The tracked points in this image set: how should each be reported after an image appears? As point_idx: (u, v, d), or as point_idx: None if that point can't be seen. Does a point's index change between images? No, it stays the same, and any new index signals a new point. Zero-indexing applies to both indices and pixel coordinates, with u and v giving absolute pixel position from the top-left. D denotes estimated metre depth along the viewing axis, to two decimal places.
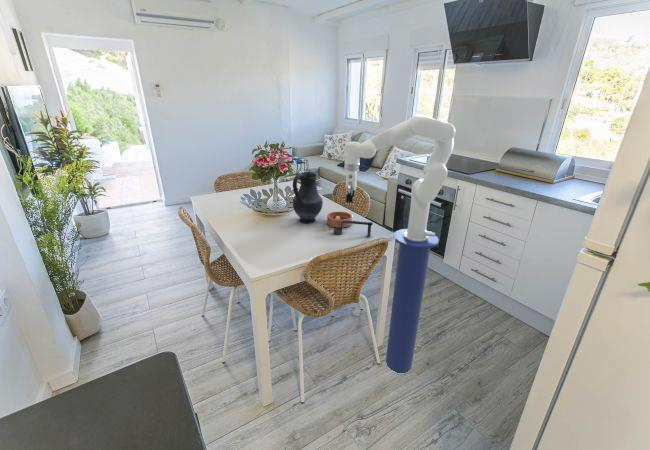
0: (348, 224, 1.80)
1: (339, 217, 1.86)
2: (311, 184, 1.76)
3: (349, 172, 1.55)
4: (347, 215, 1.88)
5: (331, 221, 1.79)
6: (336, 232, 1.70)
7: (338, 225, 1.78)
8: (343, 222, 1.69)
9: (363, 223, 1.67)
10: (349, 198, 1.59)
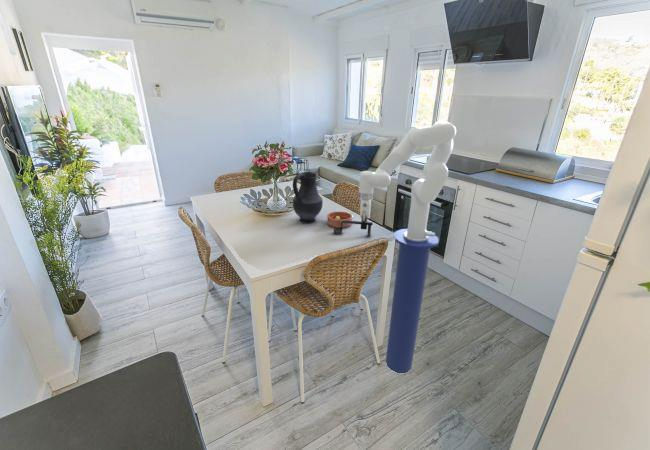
0: (348, 224, 1.80)
1: (339, 217, 1.86)
2: (311, 184, 1.76)
3: (364, 201, 1.58)
4: (347, 215, 1.88)
5: (331, 221, 1.79)
6: (336, 232, 1.70)
7: (338, 225, 1.78)
8: (343, 222, 1.69)
9: None
10: (364, 225, 1.66)
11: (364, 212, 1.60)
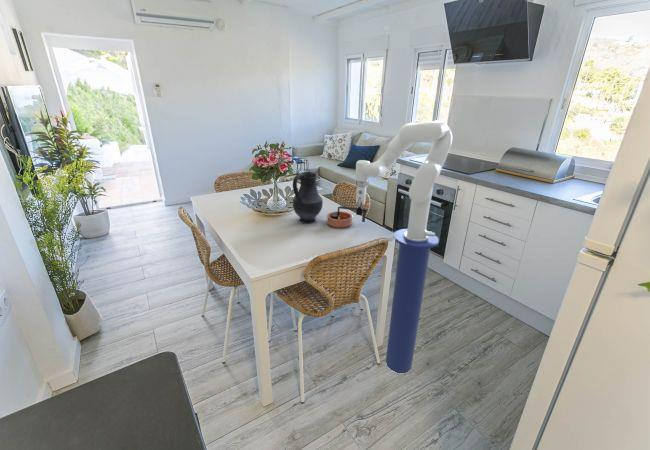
0: (348, 224, 1.80)
1: (339, 217, 1.86)
2: (311, 184, 1.76)
3: (359, 188, 1.70)
4: (347, 215, 1.88)
5: (331, 221, 1.79)
6: (333, 217, 1.82)
7: (338, 225, 1.78)
8: None
9: None
10: (359, 211, 1.78)
11: (359, 198, 1.73)
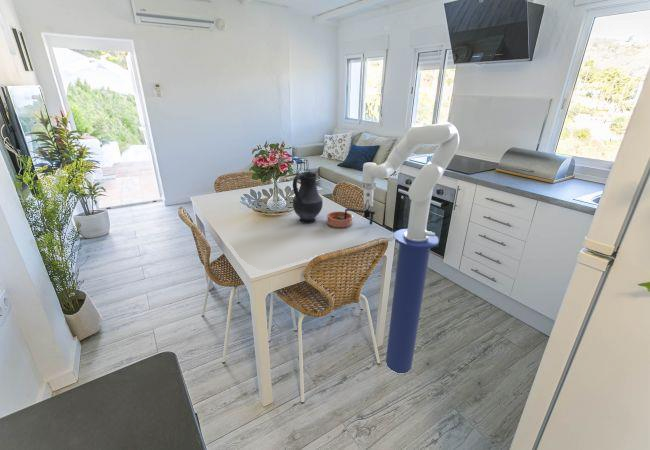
0: (348, 224, 1.80)
1: None
2: (311, 184, 1.76)
3: (367, 190, 1.70)
4: (347, 215, 1.88)
5: (331, 221, 1.79)
6: (340, 219, 1.81)
7: (338, 225, 1.78)
8: (347, 210, 1.80)
9: None
10: (367, 214, 1.77)
11: (367, 201, 1.72)
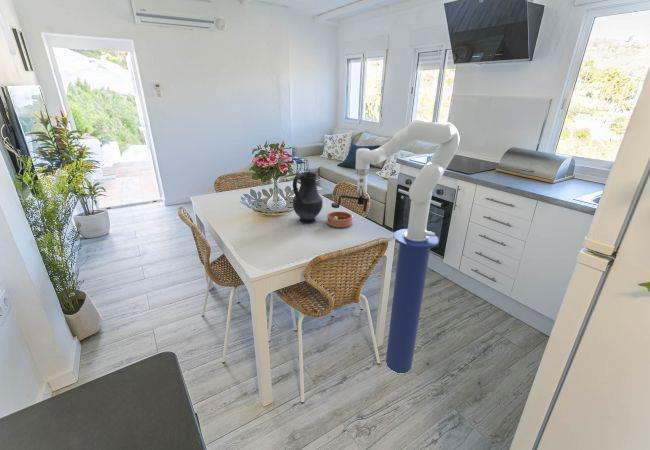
0: (348, 224, 1.80)
1: None
2: (311, 184, 1.76)
3: (360, 176, 1.68)
4: (347, 215, 1.88)
5: (331, 221, 1.79)
6: (334, 205, 1.79)
7: (338, 225, 1.78)
8: (341, 196, 1.78)
9: None
10: (361, 201, 1.76)
11: (361, 187, 1.70)
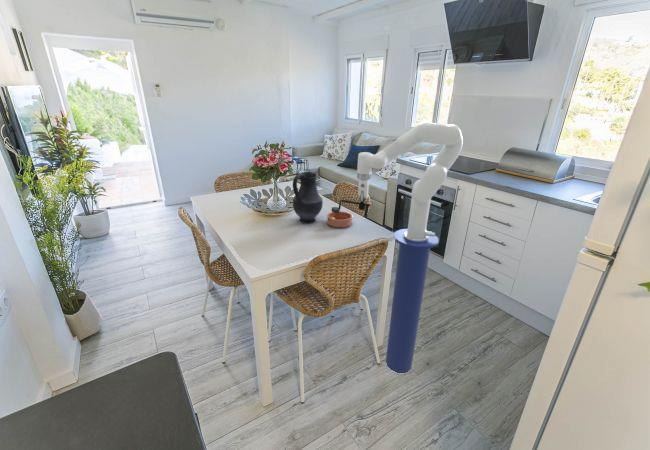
0: (348, 224, 1.80)
1: None
2: (311, 184, 1.76)
3: (361, 181, 1.63)
4: (347, 215, 1.88)
5: (331, 221, 1.79)
6: (334, 210, 1.74)
7: (338, 225, 1.78)
8: (342, 201, 1.73)
9: None
10: (362, 206, 1.71)
11: (362, 192, 1.65)
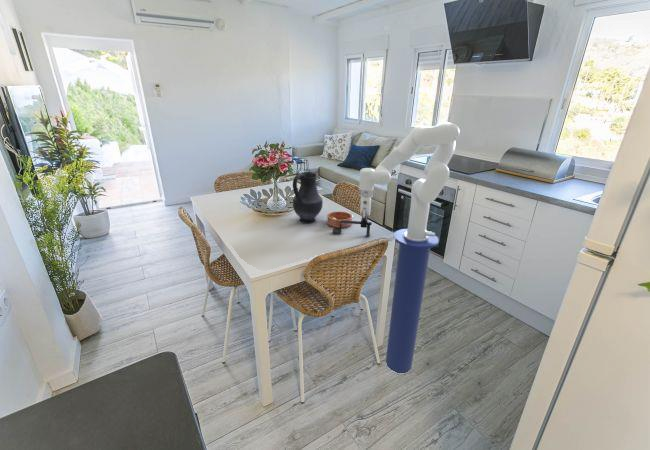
0: (348, 224, 1.80)
1: None
2: (311, 184, 1.76)
3: (364, 198, 1.58)
4: (347, 215, 1.88)
5: (331, 221, 1.79)
6: (335, 232, 1.70)
7: (338, 225, 1.78)
8: (342, 222, 1.69)
9: None
10: (364, 223, 1.64)
11: (364, 209, 1.60)
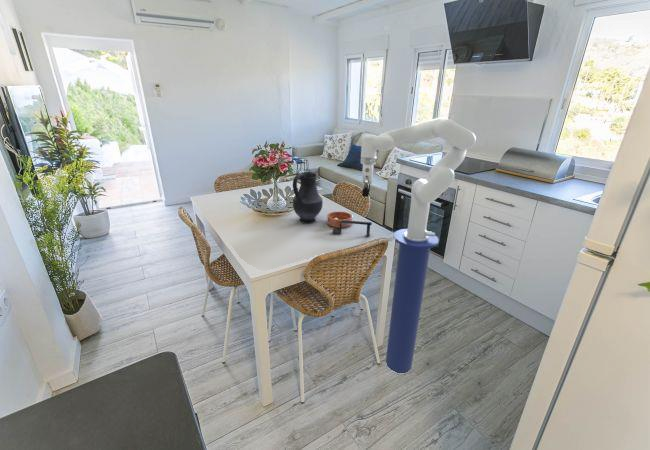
0: (348, 224, 1.80)
1: None
2: (311, 184, 1.76)
3: (366, 165, 1.52)
4: (347, 215, 1.88)
5: (331, 221, 1.79)
6: (335, 232, 1.70)
7: (338, 225, 1.78)
8: (342, 222, 1.69)
9: (362, 223, 1.67)
10: (365, 192, 1.55)
11: None
